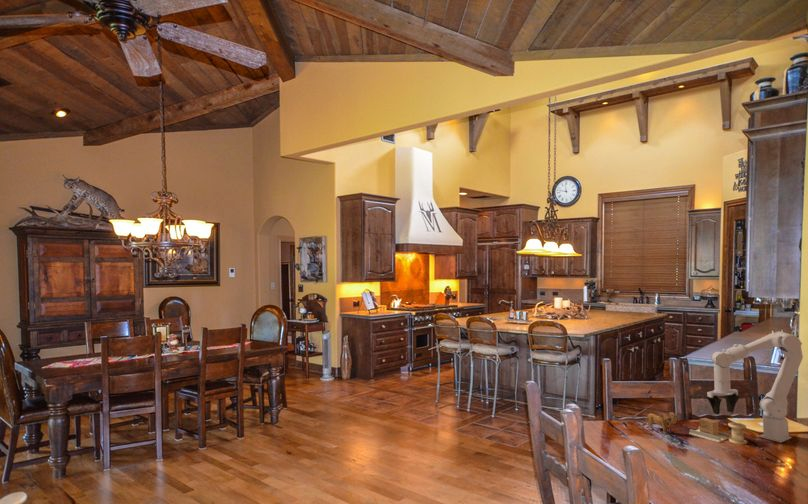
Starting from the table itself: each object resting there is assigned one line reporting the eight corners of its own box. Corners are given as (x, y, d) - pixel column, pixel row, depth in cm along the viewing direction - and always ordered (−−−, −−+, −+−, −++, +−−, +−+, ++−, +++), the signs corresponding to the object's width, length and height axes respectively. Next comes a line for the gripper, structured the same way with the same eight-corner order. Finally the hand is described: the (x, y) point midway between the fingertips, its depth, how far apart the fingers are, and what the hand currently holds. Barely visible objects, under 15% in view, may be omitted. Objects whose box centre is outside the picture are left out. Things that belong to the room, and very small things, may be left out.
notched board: (700, 430, 213) (700, 425, 213) (730, 438, 203) (730, 433, 203) (689, 434, 209) (688, 429, 209) (718, 442, 198) (718, 437, 198)
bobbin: (733, 438, 202) (732, 421, 203) (749, 442, 197) (748, 425, 197) (725, 441, 199) (725, 424, 199) (742, 445, 194) (741, 428, 194)
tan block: (705, 431, 209) (705, 417, 209) (719, 436, 204) (718, 421, 204) (699, 433, 208) (699, 418, 208) (713, 437, 202) (712, 422, 203)
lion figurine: (679, 433, 210) (678, 412, 210) (674, 436, 206) (673, 414, 207) (644, 425, 221) (643, 405, 221) (639, 428, 217) (638, 407, 218)
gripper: (717, 384, 201) (718, 417, 201) (744, 381, 205) (745, 413, 205) (702, 380, 208) (703, 412, 208) (728, 377, 212) (730, 409, 211)
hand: (723, 412), depth 207 cm, fingers open, 7 cm apart
